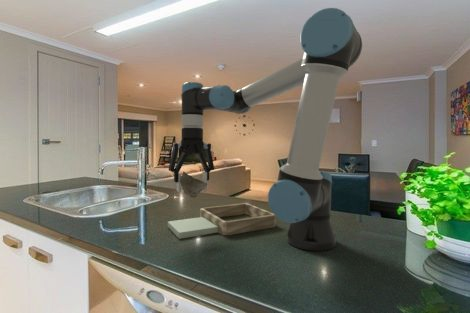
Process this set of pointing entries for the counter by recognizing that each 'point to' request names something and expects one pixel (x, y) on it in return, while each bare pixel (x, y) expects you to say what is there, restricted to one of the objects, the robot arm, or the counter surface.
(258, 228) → the wooden tray
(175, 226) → the ledge
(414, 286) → the counter surface
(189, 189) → the rock
